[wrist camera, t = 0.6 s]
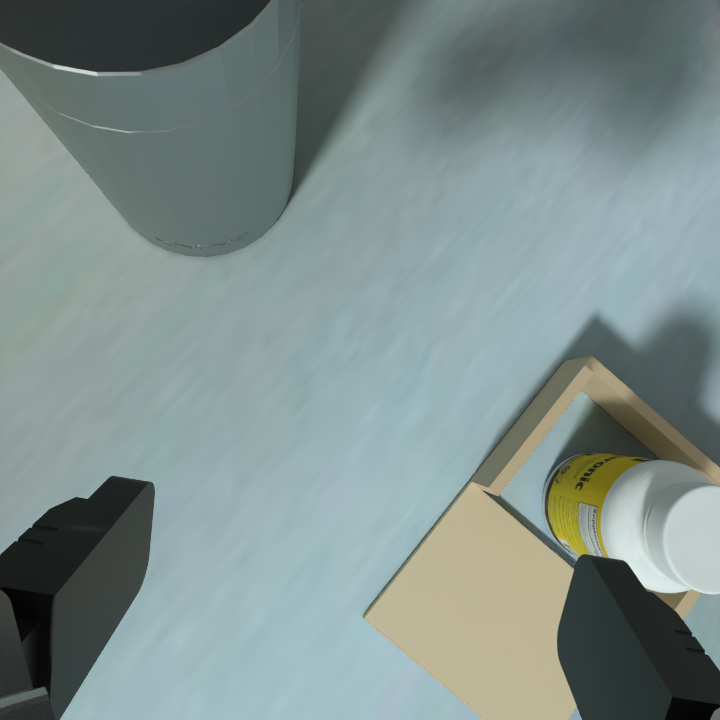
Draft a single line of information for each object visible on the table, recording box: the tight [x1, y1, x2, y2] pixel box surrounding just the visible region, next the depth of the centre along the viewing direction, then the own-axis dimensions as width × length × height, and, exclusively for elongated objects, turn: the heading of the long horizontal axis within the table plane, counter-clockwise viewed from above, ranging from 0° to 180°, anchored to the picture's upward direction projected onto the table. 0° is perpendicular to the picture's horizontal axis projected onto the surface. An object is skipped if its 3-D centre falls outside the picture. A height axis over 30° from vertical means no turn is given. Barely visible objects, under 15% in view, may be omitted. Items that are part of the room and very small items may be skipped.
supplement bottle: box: [542, 452, 720, 594], centre depth 28 cm, size 5×5×10 cm
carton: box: [363, 356, 720, 720], centre depth 31 cm, size 17×11×3 cm
